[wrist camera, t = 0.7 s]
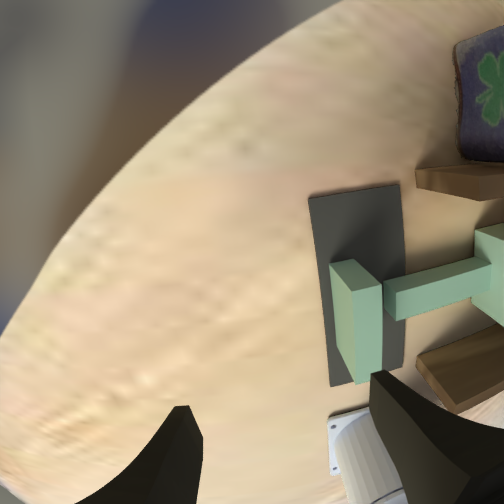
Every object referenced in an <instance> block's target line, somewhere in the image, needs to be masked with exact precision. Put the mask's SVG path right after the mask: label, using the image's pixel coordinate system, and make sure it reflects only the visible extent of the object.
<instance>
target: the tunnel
mask: <svg viewBox="0 0 504 504" xmlns="http://www.w3.org/2000/svg"><path fill="white" fill-rule="evenodd" d="M415 175H416V184H417V188H420V189H425V190H430V191H435V192H440V193H445V194H450V195H454V196H459V197H463V198H468V199H472V200H476V201H485V200H491V199H496V198H502V197H504V163H501V162H498V163H495V162H487V163H475V164H464V165H453V166H444V167H434V168H425V169H417V170H415ZM416 368H417V369H418V371H419V372H420V373H421V375H422V376H423V377H424V379H425V380H426V381H427V383H428V384H429V385H430V387H431V388H432V389H433V391H434V392H435V393H436V395H437V396H438V397H439V399H440V400H441V401H442V403H443V404H444V406H445V407H446V408H447V410H448V411H449V412H451V413H453V414H455V415H457V414H460V413H462V412H464V411H466V410H468V409H470V408H472V407H474V406H476V405H478V404H480V403H481V402H483V401H485V400H487V399H489V398H491V397H492V396H494V395H496V394H498V393H499V392H501V391H503V390H504V327H503V326H502V325H501V324H499V323H498V324H495V325H493V326H491V327H489V328H487V329H484V330H482V331H480V332H478V333H475V334H473V335H470V336H468V337H466V338H463V339H461V340H458V341H456V342H453V343H451V344H448V345H446V346H443V347H440V348H438V349H435V350H432V351H429V352H427V353H424V354H421V355H418V356H417V361H416Z"/></svg>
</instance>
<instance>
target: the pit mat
mask: <svg viewBox="0 0 504 504" xmlns="http://www.w3.org/2000/svg"><path fill="white" fill-rule="evenodd" d="M308 204H309V210H310V217H311V223H312V230H313V237H314V244H315V251H316V258H317V265H318V273H319V281H320V289H321V298H322V306H323V315H324V325H325V335H326V345H327V356H328V368H329V381H330V387H334V386H338V385H342V384H346V383H350V382H354V380H353V378H352V376H351V374H350V372H349V370H348V368H347V366H346V364H345V362H344V360H343V358H342V356H341V353H340V351H339V349H338V347H337V343H336V330H335V318H334V307H333V297H332V288H331V278H330V270H329V264H330V263H335V262H340V261H345V260H349V259H354V260H355V261H357V262H358V263H359V264H360V265H361V266H362V267H363V268H364V269H365V270H366V271H368V272H369V273H370V274H371V275H372V276H373V277H374V278H375V279H376V280H377V281H378V282H379V283H381V284H382V370H384V369H385V370H386V371H392V370H395V369H398V368H401V367H402V364H403V350H404V333H405V319H402V320H399V321H395V320H394V318H393V317H392V316H391V315H390V314H389V313H388V312H387V311H386V310H385V308H384V287H383V281H385V280H389V279H394V278H398V277H401V276H405V249H404V231H403V218H402V206H401V196H400V187H399V185H391V186H384V187H377V188H371V189H364V190H358V191H352V192H346V193H339V194H333V195H327V196H322V197H316V198H310V199H308Z"/></svg>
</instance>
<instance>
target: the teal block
mask: <svg viewBox="0 0 504 504" xmlns="http://www.w3.org/2000/svg"><path fill="white" fill-rule="evenodd" d="M329 270H330V278H331V288H332V297H333V307H334V318H335V330H336V343H337V347H338V349H339V351H340V353H341V356H342V358H343V360H344V362H345V364H346V366H347V368H348V370H349V372H350V374H351V376H352V378H353V380H354V383H355V385H357V384H361V383H365V382H368V381H370V374H371V373H374V372H377V371H381V370H382V284H381V283H379V282H378V281H377V280H376V279H375V278H374V277H373V276H372V275H371V274H370V273H369V272H368V271H366V270H365V269H364V268H363V267H362V266H361V265H360V264H359V263H358V262H357V261H355V260H354V259H349V260H345V261H340V262H335V263H330V264H329ZM383 287H384V308H385V310H386V311H387V312H388V313H389V314H390V315H391V316H392V317H393V318H394V320H395V321H399V320H402V319H405V318H409V317H412V316H415V315H419V314H422V313H425V312H428V311H431V310H434V309H438V308H441V307H444V306H447V305H450V304H452V303H455V302H458V301H461V300H464V299H467V298H470V297H471V303H472V304H473V305H475V306H476V307H478V308H479V309H480V310H482V311H483V312H484V313H486V314H487V315H489V316H490V317H491V318H493V319H494V320H495V321H497V322H498V323H499V324H501V325H502V326H503V327H504V223H500V224H496V225H492V226H488V227H484V228H480V229H476V230H475V249H474V257H471V258H468V259H464V260H461V261H457V262H454V263H450V264H447V265H443V266H440V267H436V268H432V269H428V270H425V271H421V272H417V273H413V274H409V275H405V276H401V277H398V278H394V279H389V280H385V281H383Z"/></svg>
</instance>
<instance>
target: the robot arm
mask: <svg viewBox="0 0 504 504" xmlns="http://www.w3.org/2000/svg"><path fill="white" fill-rule="evenodd" d="M332 425H333V426H332ZM327 432H328V449H329V468H330V475H333V476H334V475H338V474H341V477H342V481H343V484H344V488H345V491H346V495H347V498H348V502H349V504H504V429H501V428H496V427H492V426H487V425H484V424H480V423H477V422H474V421H471V420H468V419H465V418H462V417H460V416H458V415H455V414H453V413H451V412H449V411H447V410H445V409H443V408H441V407H439V406H437V405H435V404H434V403H432V402H430V401H429V400H427V399H425V398H424V397H422V396H421V395H419V394H418V393H416V392H415V391H413V390H412V389H411V388H409V387H408V386H406V385H405V384H404V383H402V382H401V381H400V380H398V379H397V378H396V377H394V376H393V375H392V374H390V373H389V372H388V371H386V370H385V369H384V370H381V371H377V372H374V373H371V374H370V398H369V407H366V408H363V409H359V410H356V411H352V412H348V413H345V414H341V415H337V416H333V417H330V418H329V419H328V420H327ZM202 461H203V436H202V434H201V432H200V430H199V427H198V425H197V423H196V421H195V418H194V416H193V414H192V411H191V409H190V406H189V405H187V406H175V407H174V408H173V409H172V411H171V412H170V413H169V415H168V416H167V418H166V419H165V421H164V422H163V424H162V425H161V426H160V428H159V429H158V431H157V432H156V433H155V435H154V436H153V437H152V439H151V440H150V441H149V443H148V444H147V445H146V446H145V447H144V449H143V450H142V451H141V452H140V453H139V455H138V456H137V457H136V458H135V459H134V460H133V461H132V462H131V463H130V464H129V465H128V466H127V467H126V468H125V469H124V470H123V471H122V472H121V473H120V474H119V475H118V476H116V477H115V478H114V479H113V480H111V481H110V482H109V483H107V484H106V485H105V486H104V487H102V488H101V489H99V490H98V491H96V492H95V493H93V494H91V495H90V496H88V497H86V498H85V499H83V500H81V501H79V502H77V503H75V504H196V501H197V495H198V488H199V481H200V475H201V468H202Z"/></svg>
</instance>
